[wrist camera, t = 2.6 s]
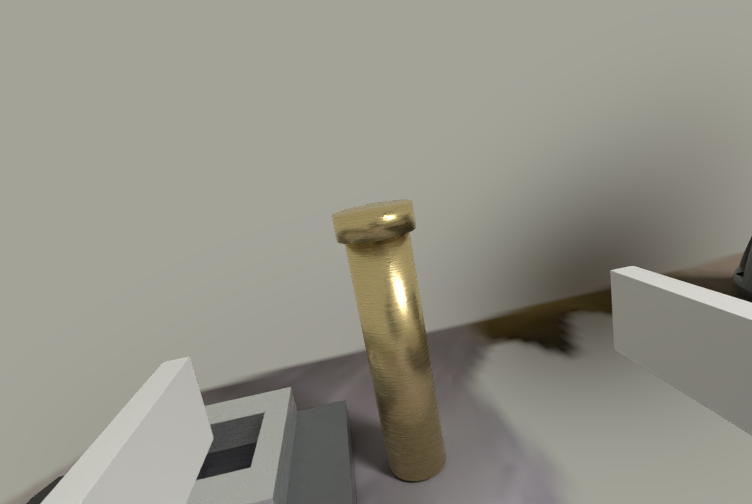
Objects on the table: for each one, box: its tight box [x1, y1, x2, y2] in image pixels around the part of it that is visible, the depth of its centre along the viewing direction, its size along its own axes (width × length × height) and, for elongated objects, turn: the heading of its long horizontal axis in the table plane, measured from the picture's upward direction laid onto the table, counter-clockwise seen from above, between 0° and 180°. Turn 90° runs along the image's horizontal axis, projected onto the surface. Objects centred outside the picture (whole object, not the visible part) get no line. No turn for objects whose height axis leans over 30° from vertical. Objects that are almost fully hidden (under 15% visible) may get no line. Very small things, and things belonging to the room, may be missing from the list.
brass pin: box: [332, 200, 446, 481], centre depth 24 cm, size 4×4×16 cm
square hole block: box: [186, 387, 357, 504], centre depth 24 cm, size 15×10×4 cm, turn 97°
